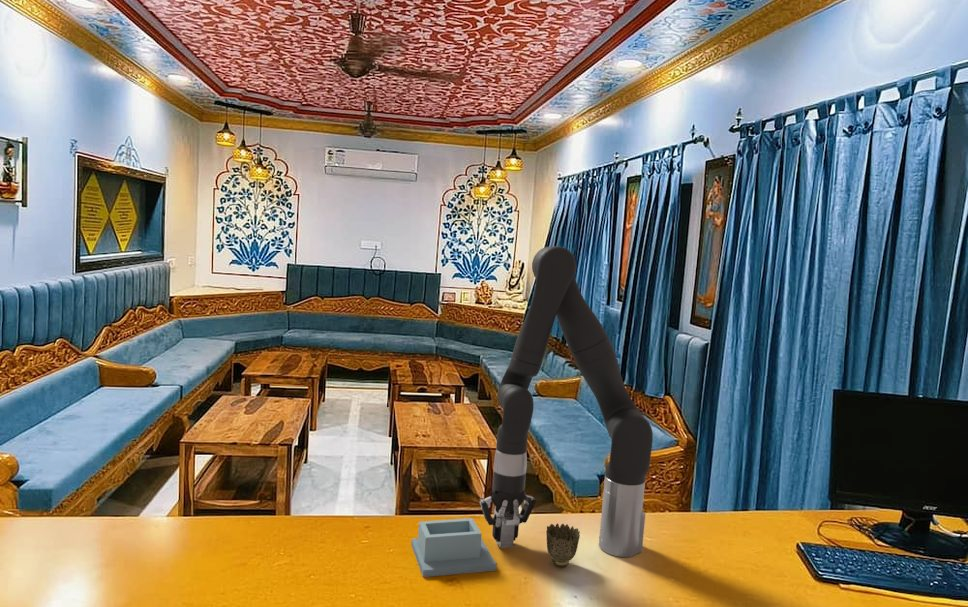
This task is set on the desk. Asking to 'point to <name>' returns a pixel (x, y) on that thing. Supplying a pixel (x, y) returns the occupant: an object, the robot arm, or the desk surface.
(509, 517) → the grey painted wood block
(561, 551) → the cup
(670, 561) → the desk surface
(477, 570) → the well board
